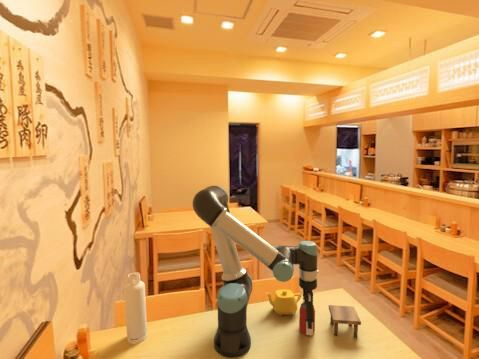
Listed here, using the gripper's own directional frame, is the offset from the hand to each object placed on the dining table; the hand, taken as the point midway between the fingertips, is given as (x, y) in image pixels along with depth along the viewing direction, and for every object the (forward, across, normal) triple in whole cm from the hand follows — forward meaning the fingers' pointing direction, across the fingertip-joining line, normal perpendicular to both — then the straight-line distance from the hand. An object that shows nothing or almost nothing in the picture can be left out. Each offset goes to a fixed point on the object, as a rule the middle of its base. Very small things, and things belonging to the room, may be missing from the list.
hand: (307, 324), depth 120 cm
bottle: (+3, -13, +72) cm, 74 cm away
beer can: (+4, 0, 0) cm, 4 cm away
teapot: (+4, +14, +10) cm, 18 cm away
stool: (+4, +3, -16) cm, 16 cm away
